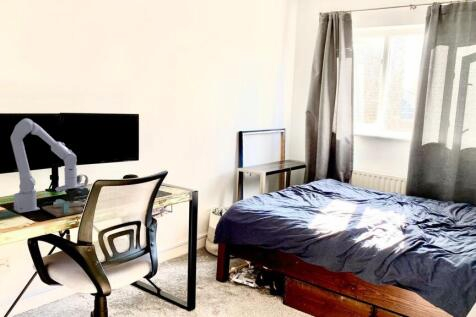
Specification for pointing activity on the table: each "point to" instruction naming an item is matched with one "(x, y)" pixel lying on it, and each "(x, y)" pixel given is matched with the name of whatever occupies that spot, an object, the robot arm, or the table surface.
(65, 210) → the block
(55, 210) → the board
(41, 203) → the table surface
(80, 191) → the watch
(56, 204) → the latch bar
